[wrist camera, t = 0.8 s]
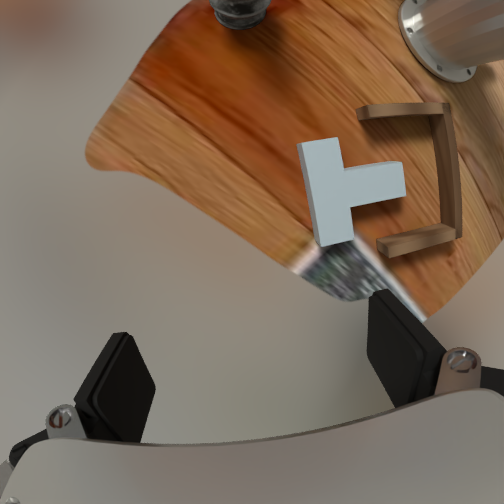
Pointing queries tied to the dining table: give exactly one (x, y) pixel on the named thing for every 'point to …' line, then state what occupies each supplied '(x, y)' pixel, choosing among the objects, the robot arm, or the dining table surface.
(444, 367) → the robot arm
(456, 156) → the corral
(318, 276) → the dining table surface
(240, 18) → the grey stone statue
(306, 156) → the t block
